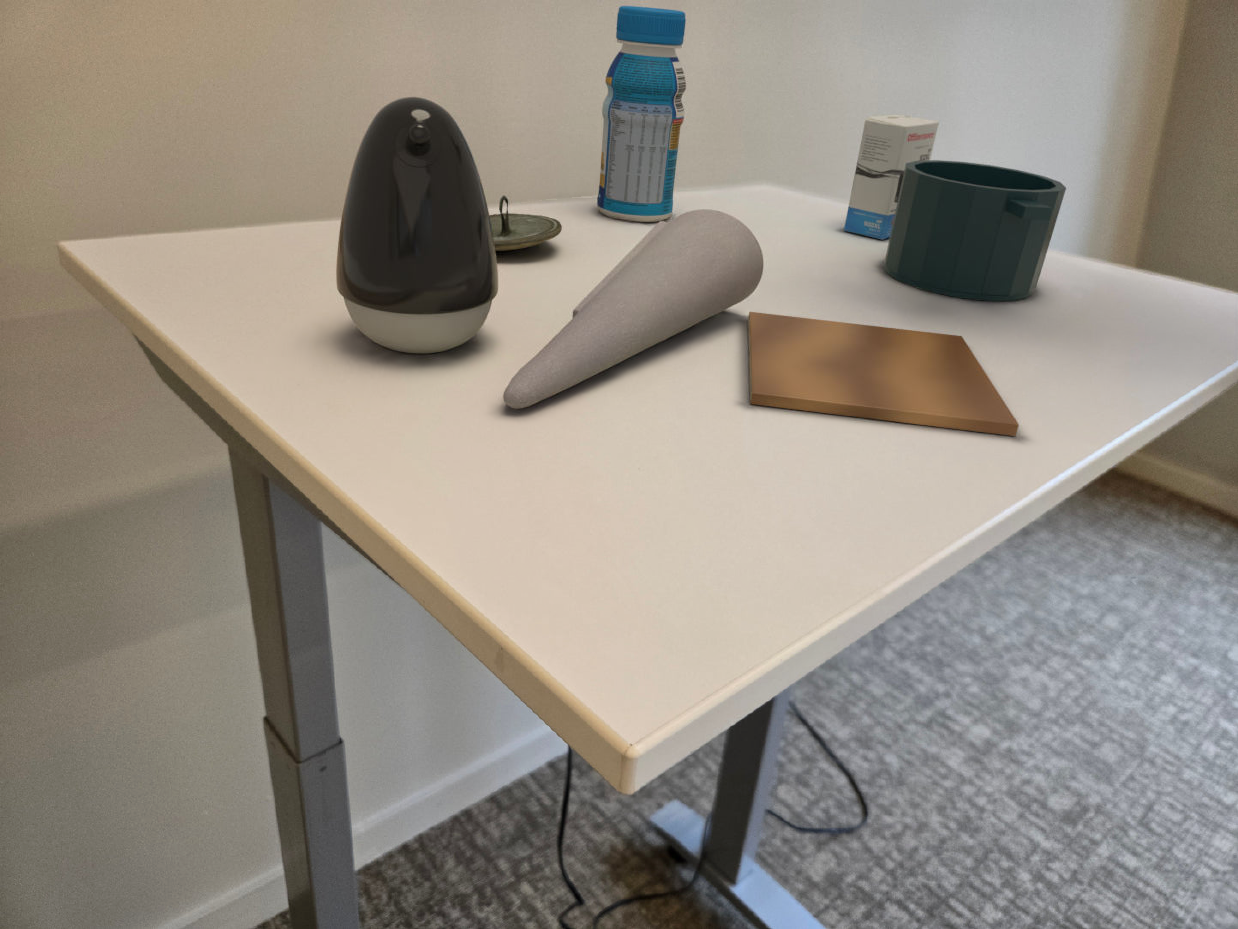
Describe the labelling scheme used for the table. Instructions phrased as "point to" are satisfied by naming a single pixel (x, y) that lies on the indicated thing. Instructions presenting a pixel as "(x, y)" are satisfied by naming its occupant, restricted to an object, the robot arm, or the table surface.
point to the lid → (521, 229)
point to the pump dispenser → (416, 233)
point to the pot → (972, 229)
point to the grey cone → (647, 300)
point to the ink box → (885, 170)
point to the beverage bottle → (642, 116)
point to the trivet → (872, 374)
